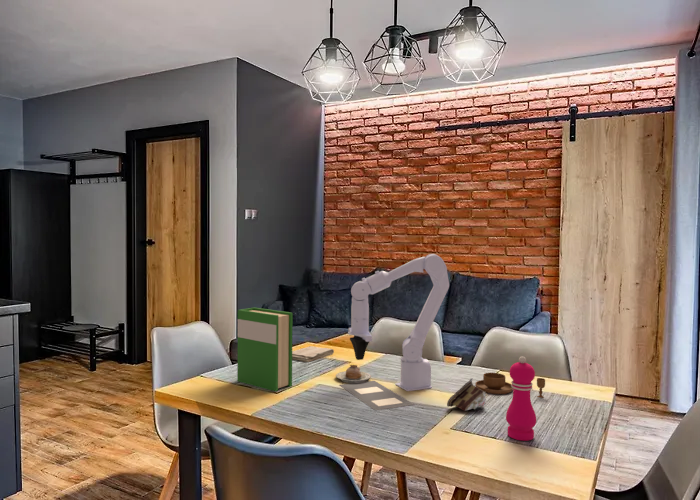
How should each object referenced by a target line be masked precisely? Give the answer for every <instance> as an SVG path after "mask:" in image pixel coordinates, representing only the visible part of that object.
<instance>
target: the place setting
mask: <svg viewBox="0 0 700 500" xmlns="http://www.w3.org/2000/svg"><path fill="white" fill-rule="evenodd" d="M482 376H483V379H481V380H477V381H475V384H474V386H476V387H477V388H479V389H481V390H482V391H484V392H485V393H486V394H492V395H507V394H510V393H511V392H513V388H512V387H511V385H512V383H509V382H508V381H506V375H505V374H502V373H499V372H485V373H484V374H483V375H482ZM536 386H537V387H538V389H539V390H538V394H539V395H537V396H536V397H537V398H540V399H544V398H545V396H543V394H544V393H543V389H544V388H545V386H546V379H545V378H543V377H542V378H541V377H538V378H536Z"/></svg>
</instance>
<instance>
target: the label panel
mask: <svg viewBox="0 0 700 500" xmlns="http://www.w3.org/2000/svg"><path fill="white" fill-rule="evenodd" d="M339 387H341V388H343V389H344V390H345V391H347V392H348V393H349V394H351V395H352V396H353V397H355V398H357V399H358V400H359V401H361V402H362V403H364V404H365V405H366V406H368V407H369V408H371V409H373V411H380V410H381V411H382V410H388V409H389V410H390V409H396V408H402V407H408V406H415V403H413V402H411V401H409V400H408V399H406V398H405V397H403V396H401V395H400V394H397V393H396V392H394V391H393V390H391V389H389V388H388V387H386V386H384V385H383V384H381V383H379V382H378V381H376V380H370V381H369V380H368V381H366V382H363V383H342V384H339Z"/></svg>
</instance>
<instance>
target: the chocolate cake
mask: <svg viewBox="0 0 700 500" xmlns="http://www.w3.org/2000/svg"><path fill="white" fill-rule="evenodd" d="M486 395H487V393H485V392H484V391H482V390H481V389H479V388H477V387H476V385H475V384H474V385H473V378H470V379H469V380H468V381H467V382H465V383H464V384H463V385H462V386H461V387H460V388H459V389H458V390H457V391H456V392H455V393H454V394H452V395H451V396H450V397H449V398H448V400H447V403H446V407H451V408H452V407H456V408H459V409H460V410H461V411H463V412H465V411H469V410H472V409H473V410H475V411H479V408H484V407H485V406H486V400H487V399H486Z"/></svg>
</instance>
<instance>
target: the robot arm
mask: <svg viewBox="0 0 700 500" xmlns="http://www.w3.org/2000/svg"><path fill="white" fill-rule="evenodd" d="M424 271H426V273H427V274H428V275H429V277H430V280H431V282H432V285H433V286H432V289H431V290H430V292H429V295H428V297H427V299H426V301H425V303H424V305H423V307H422V309H421V312H420V313H419V316H418V318H417V321H416V322H415V325H414V326H413V328H412V330H411V331H410V334H409V335H408V336H407V338H405V339H404V340H403V341H402V345H401V347H402V355H403V356H402V357H400V382H395V383H394V384H395V385H396V386H397V387H398V388H400V389H402V390H405V391H406V392H411V391H419V390H426V389H427V390H428V389H432V388H433V386H432V365H431V363H430V361H429V360H428V359H427V358H423V357H422V356H423V348H424V345H425V342H426V338H427V335H428V334H429V331H430V329H431V326H432V325H433V323H434V321H435V318H436V316H437V314H438V312H439V310H440V308H441V306H442V304H443V301H444V299H445V296H446V294H447V293H448V290H449V288H450V280H449V274H448V266H447V265H446V263H445V261H444V260H443V258H442V257H441V256H439V255H438V254H435V253H429V254H427V255H426V256H422V257H421V256H420V257H417V258H414V259H412V260H409V262H406V263H405V264H402V265H400V266H398V267H396V268H394V269H392V270H390V271H384V270H381V271H379V270H376V271H374V274H372V275H369V276H368V277H366V278H365V277H362V278H361V280H359V281H357V282H355V283H354V284H353V285H352V287H351V289H350V292H351V293H350V294H351V296H352V297H351V313H350V314H351V316H350V317H351V318H350V325H351V326H350V327H348V329H347V330H348V332H347V334H348V335H349V336H353V337H349V341H350V342H351V344H352V347H353V351H354V356H355V360H357V361H360V360H361V361H362V360H364V357H365V355H366V350H367V347H368V345H369V344H370V342H373V334H371V332H370V329H369V326H370V324H369V323H370V322H369V321H370V319H369V318H370V307H369V306H370V304H369V295H375V294H377V293H379V292H381V291H383V290H385V289H387V288H389V287H391V285H392V283H393V281H395V280H398V279H401V278H403V277H404V276H407V275H409V274H412V273H415V272H416V273H423V274H424Z"/></svg>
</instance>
